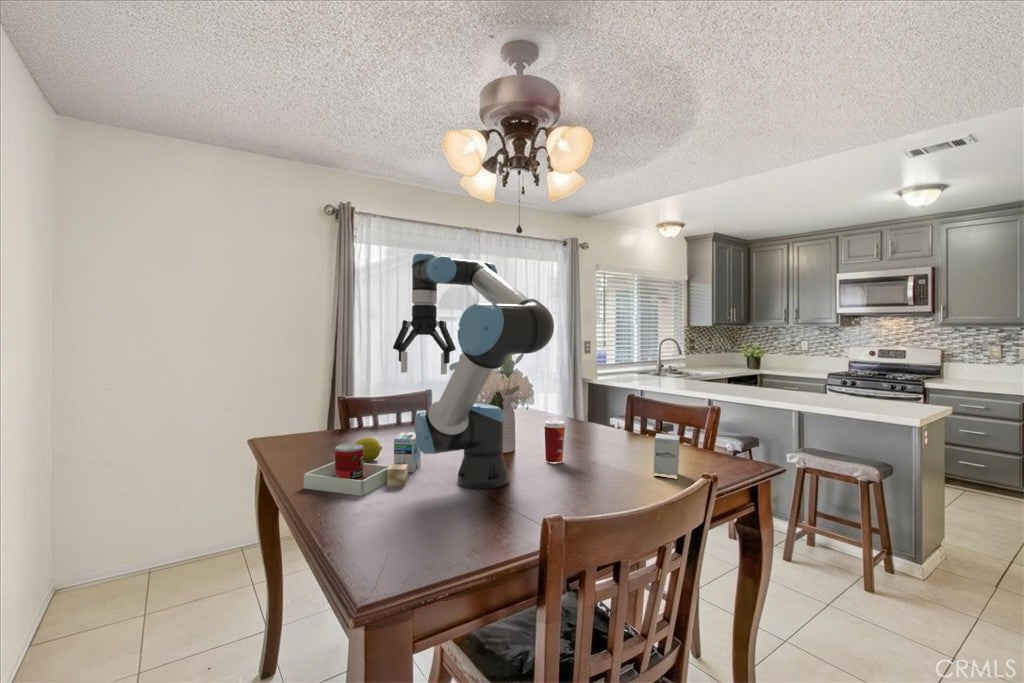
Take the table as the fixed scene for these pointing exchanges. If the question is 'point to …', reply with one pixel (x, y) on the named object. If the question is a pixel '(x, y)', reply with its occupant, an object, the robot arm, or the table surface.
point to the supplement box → (666, 454)
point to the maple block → (397, 475)
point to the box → (346, 480)
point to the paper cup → (554, 440)
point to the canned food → (349, 461)
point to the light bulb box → (407, 450)
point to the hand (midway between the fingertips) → (423, 373)
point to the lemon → (369, 448)
